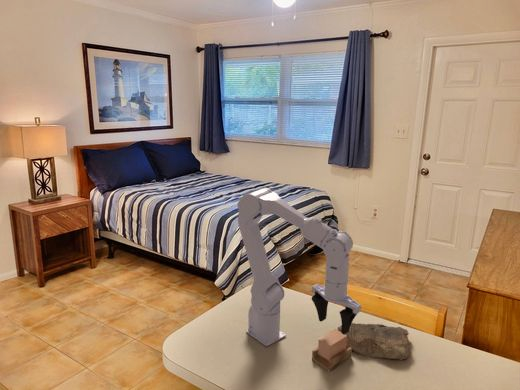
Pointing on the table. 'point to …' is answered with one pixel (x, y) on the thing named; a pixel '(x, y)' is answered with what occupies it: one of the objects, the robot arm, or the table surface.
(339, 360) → the rack
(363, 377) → the table surface
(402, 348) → the rough brown rock
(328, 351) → the clay bar
